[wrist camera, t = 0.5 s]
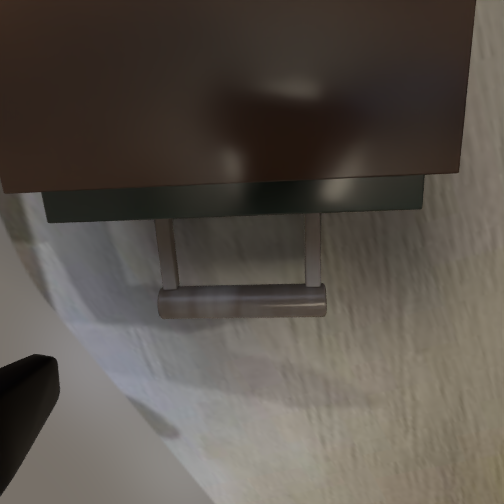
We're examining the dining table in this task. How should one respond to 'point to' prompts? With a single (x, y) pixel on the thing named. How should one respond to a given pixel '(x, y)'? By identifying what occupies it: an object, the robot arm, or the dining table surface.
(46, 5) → the cabinet
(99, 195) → the drawer
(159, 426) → the dining table surface
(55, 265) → the dining table surface
